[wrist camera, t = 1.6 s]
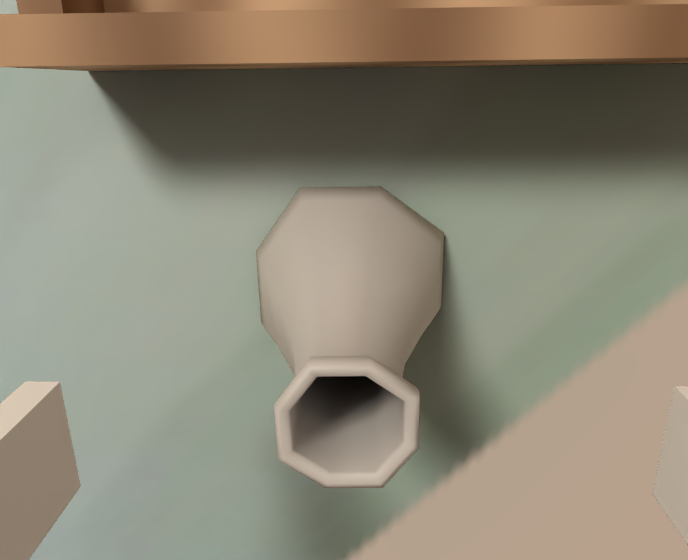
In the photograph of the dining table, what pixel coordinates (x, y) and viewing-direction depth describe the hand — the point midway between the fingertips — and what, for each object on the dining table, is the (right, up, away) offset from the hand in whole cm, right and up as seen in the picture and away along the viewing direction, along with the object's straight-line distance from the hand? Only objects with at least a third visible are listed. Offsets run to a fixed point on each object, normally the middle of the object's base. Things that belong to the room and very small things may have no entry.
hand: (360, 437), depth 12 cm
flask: (0, +4, +9) cm, 10 cm away
